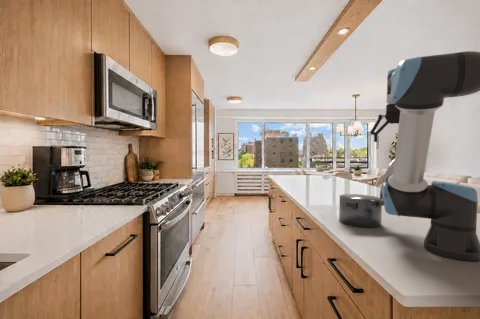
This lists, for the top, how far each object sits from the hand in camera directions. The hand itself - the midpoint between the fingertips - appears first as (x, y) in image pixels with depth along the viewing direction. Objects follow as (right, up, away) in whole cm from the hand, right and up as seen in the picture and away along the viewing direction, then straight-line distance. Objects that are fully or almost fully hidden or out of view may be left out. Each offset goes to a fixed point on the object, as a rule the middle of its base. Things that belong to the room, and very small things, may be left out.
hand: (393, 148), depth 117 cm
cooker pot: (-16, -35, 0) cm, 39 cm away
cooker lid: (-8, -14, -9) cm, 18 cm away
